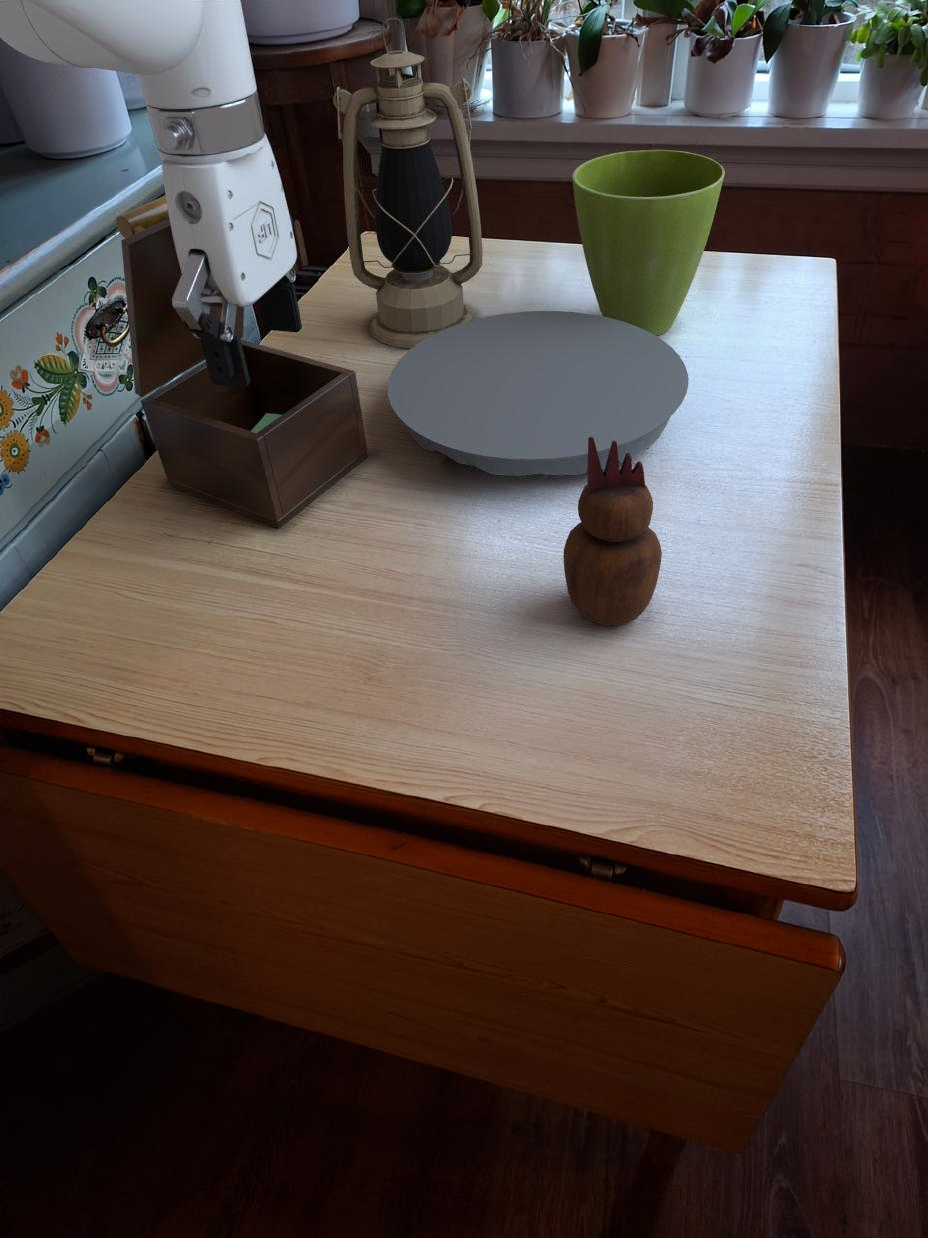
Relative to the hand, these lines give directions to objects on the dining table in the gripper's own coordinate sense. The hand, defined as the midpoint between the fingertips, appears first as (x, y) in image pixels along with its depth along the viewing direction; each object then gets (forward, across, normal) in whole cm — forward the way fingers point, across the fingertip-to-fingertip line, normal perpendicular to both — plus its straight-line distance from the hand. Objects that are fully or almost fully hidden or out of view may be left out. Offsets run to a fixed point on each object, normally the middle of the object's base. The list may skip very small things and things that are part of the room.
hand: (259, 355), depth 74 cm
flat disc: (+12, +15, -20) cm, 28 cm away
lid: (-4, +2, +6) cm, 8 cm away
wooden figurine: (+12, -10, -31) cm, 35 cm away
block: (+12, 0, 0) cm, 12 cm away
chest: (+12, +1, +2) cm, 13 cm away
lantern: (+12, +33, -2) cm, 35 cm away
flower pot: (+12, +37, -26) cm, 47 cm away
